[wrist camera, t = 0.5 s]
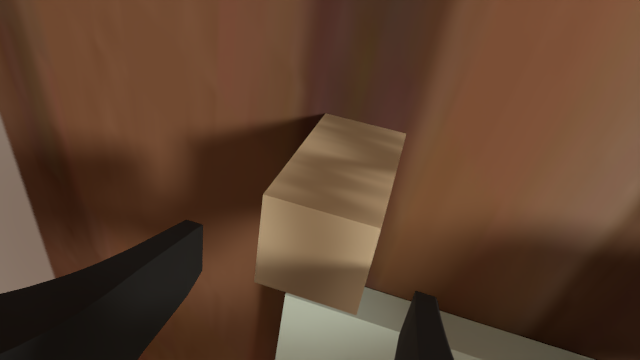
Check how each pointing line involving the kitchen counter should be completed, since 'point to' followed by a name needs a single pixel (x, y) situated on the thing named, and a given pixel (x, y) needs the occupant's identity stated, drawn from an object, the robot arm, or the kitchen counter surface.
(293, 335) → the socket board
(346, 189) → the oak peg
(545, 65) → the kitchen counter surface
